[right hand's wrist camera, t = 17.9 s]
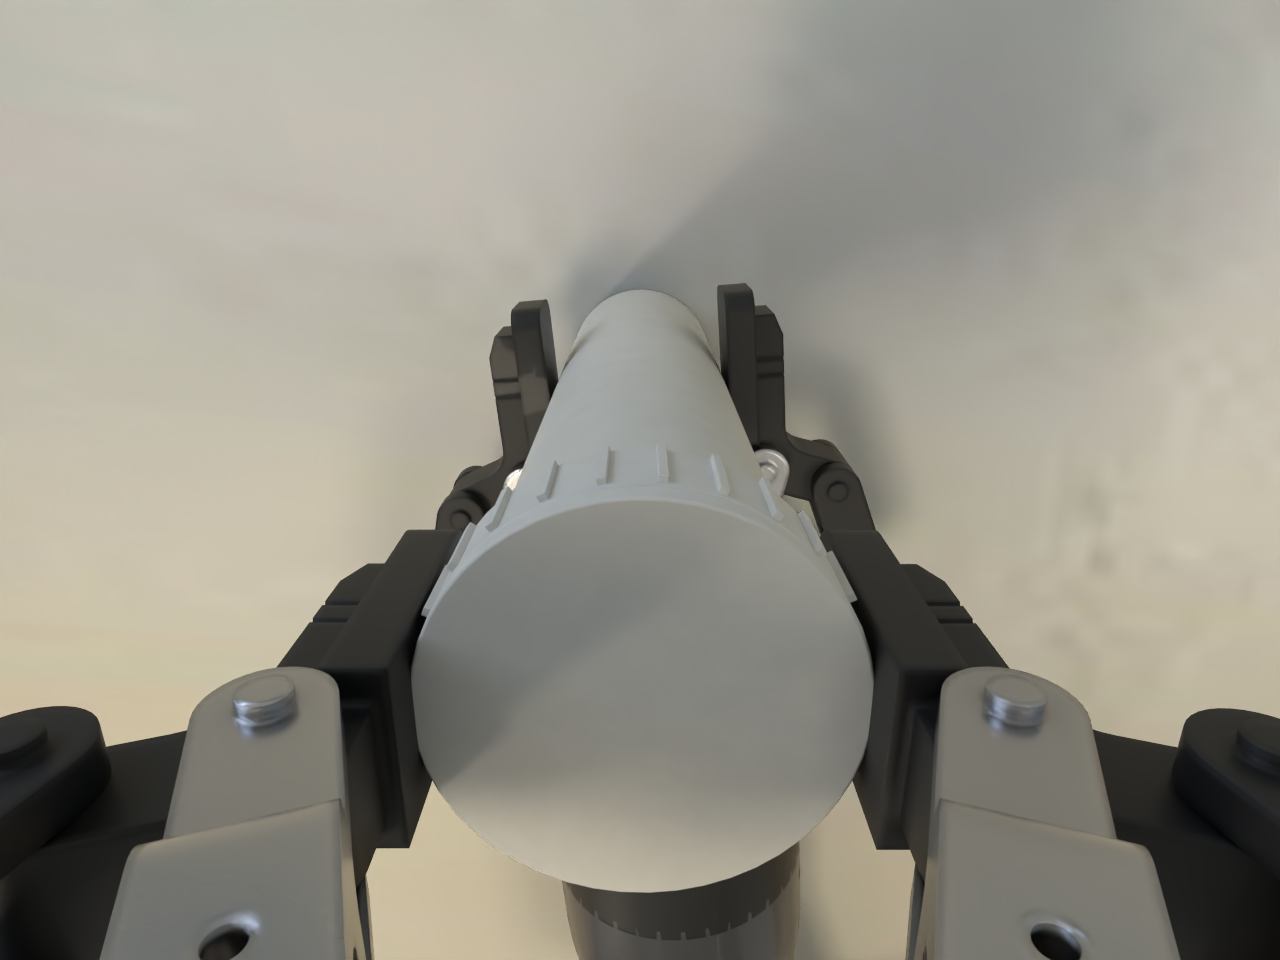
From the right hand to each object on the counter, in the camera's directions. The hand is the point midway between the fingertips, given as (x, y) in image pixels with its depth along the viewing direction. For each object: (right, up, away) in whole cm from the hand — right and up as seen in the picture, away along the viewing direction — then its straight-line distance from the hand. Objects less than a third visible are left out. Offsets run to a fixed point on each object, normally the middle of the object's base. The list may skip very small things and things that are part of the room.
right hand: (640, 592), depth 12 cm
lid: (0, -1, -2) cm, 3 cm away
